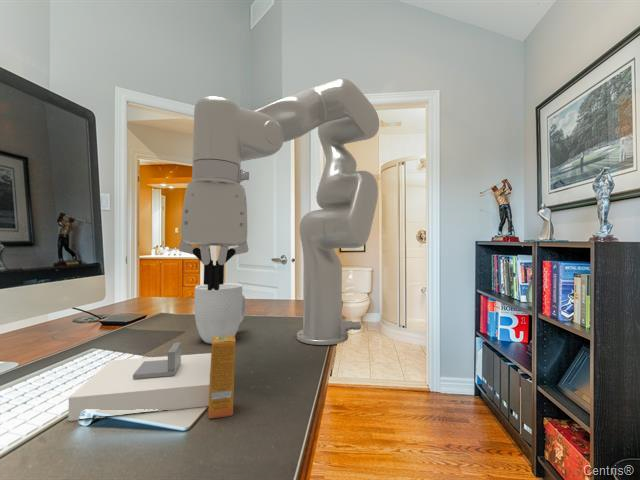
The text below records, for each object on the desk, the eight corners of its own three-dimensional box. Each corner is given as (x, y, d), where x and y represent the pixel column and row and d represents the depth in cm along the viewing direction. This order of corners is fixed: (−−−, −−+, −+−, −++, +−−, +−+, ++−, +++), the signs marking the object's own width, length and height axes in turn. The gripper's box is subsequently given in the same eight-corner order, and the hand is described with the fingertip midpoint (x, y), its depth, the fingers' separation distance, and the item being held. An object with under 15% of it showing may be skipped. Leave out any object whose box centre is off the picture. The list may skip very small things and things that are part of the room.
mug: (228, 328, 88) (228, 280, 89) (261, 333, 83) (261, 282, 84) (183, 343, 75) (184, 286, 75) (219, 349, 70) (219, 289, 70)
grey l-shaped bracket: (181, 362, 54) (181, 341, 54) (174, 375, 48) (174, 352, 48) (144, 365, 52) (144, 344, 53) (132, 378, 47) (133, 355, 47)
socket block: (221, 368, 59) (221, 352, 59) (215, 405, 46) (215, 384, 46) (111, 377, 55) (111, 360, 55) (68, 421, 41) (68, 397, 41)
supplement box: (235, 415, 43) (236, 340, 43) (208, 420, 42) (209, 342, 42) (233, 404, 46) (234, 333, 46) (208, 407, 45) (209, 335, 45)
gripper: (261, 184, 58) (259, 286, 58) (172, 178, 55) (168, 287, 54) (264, 175, 51) (261, 291, 50) (161, 167, 48) (157, 293, 47)
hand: (213, 289), depth 52 cm, fingers closed
